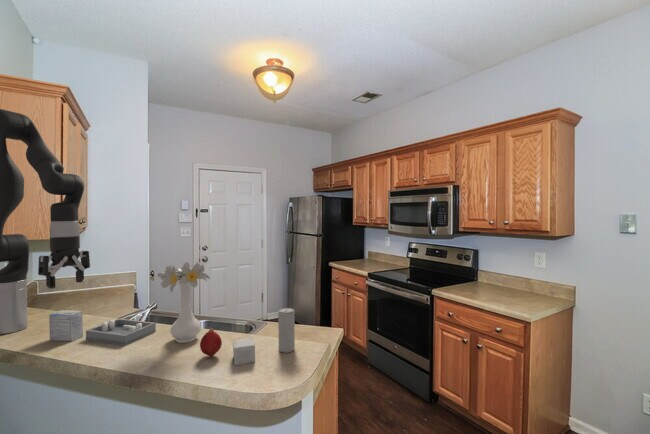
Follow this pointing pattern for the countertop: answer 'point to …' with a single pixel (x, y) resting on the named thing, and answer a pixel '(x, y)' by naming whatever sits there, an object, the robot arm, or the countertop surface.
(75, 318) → the medicine box
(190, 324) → the flower vase
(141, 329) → the tray
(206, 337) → the onion
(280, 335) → the beverage can
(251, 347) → the small box
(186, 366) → the countertop surface
